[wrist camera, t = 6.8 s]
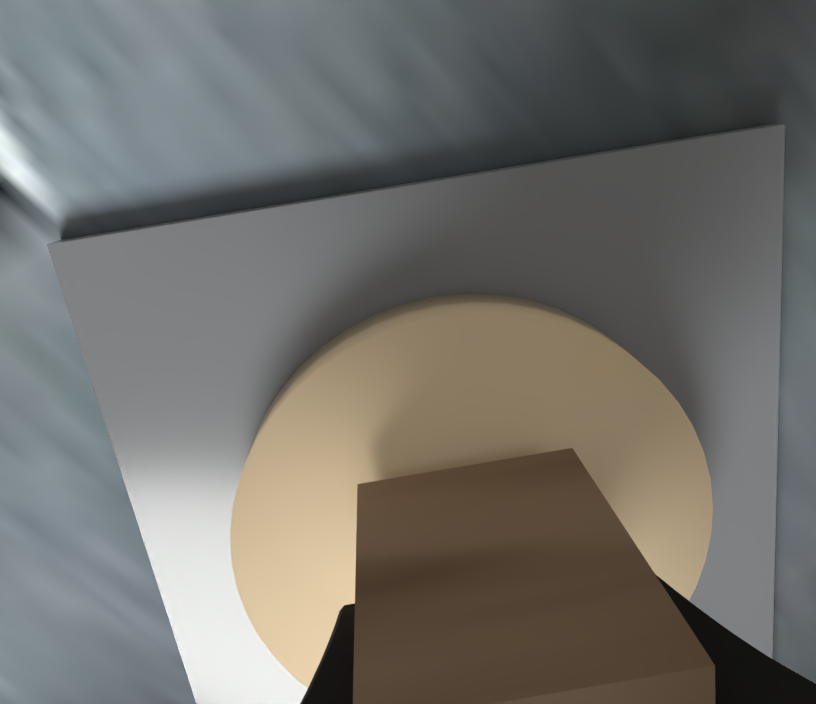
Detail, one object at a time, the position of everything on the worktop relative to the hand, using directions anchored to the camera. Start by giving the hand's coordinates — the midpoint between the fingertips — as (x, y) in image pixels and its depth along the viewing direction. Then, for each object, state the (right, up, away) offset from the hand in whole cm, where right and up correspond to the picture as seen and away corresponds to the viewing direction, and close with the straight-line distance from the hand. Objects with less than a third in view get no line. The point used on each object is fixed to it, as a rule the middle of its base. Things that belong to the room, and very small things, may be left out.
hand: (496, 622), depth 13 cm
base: (0, +2, +5) cm, 5 cm away
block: (0, +1, +2) cm, 2 cm away
